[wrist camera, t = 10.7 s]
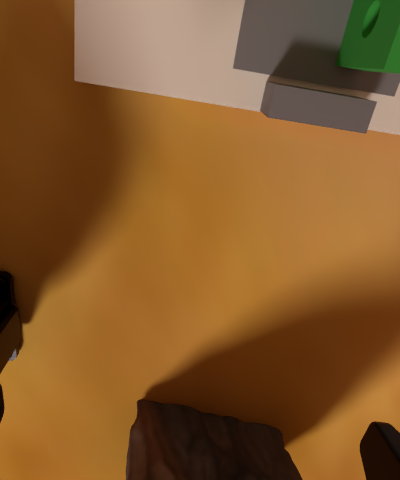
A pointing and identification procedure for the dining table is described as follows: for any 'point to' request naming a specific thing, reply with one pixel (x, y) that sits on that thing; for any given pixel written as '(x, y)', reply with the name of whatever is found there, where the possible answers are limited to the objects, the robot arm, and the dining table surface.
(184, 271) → the dining table surface
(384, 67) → the green angled block
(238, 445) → the grey brown rock block
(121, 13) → the door panel
